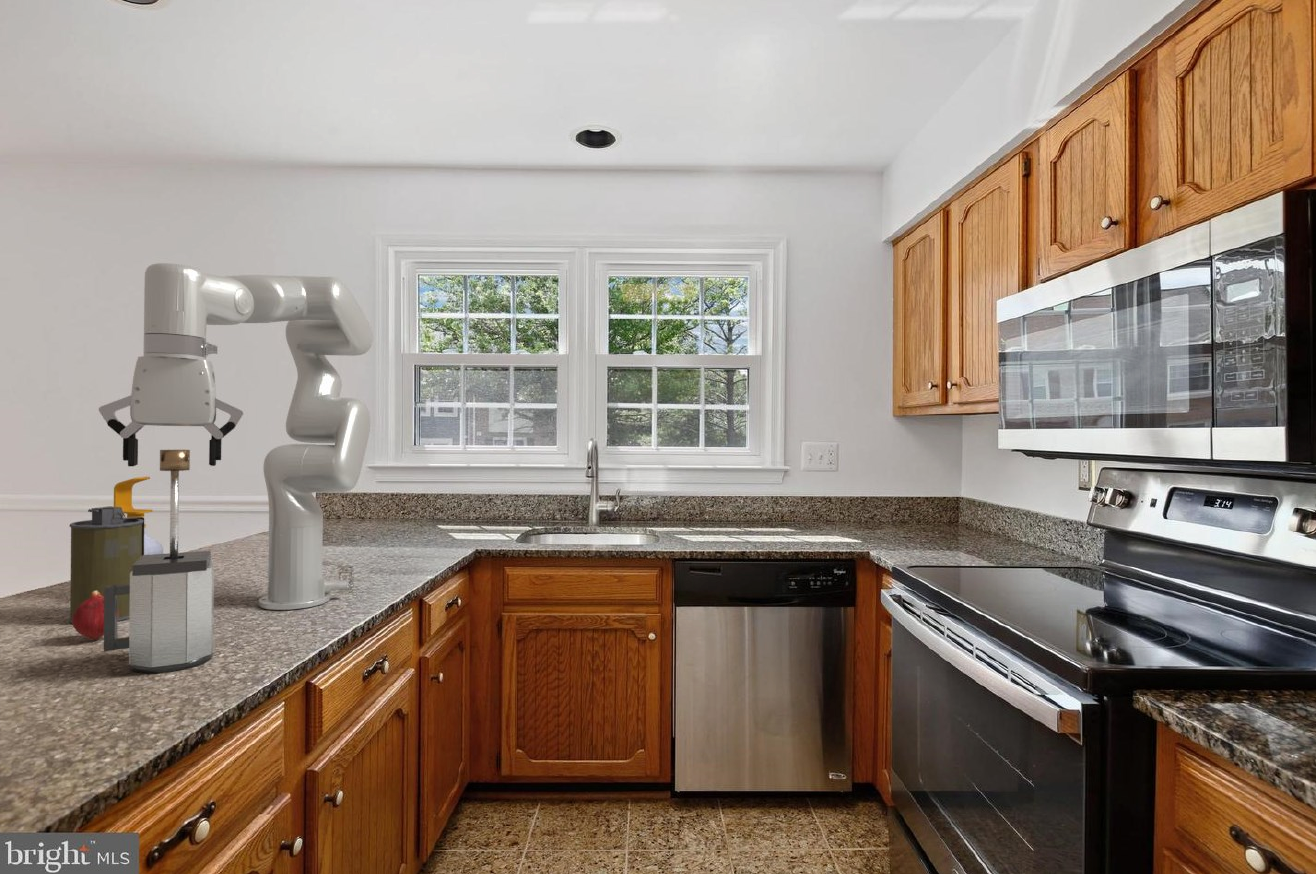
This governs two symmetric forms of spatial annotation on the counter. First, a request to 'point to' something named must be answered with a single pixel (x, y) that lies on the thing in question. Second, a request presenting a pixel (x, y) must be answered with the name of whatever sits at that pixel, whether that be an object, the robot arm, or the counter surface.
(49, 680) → the counter surface
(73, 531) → the canister
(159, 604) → the french press
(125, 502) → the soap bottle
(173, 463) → the plunger
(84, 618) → the onion
